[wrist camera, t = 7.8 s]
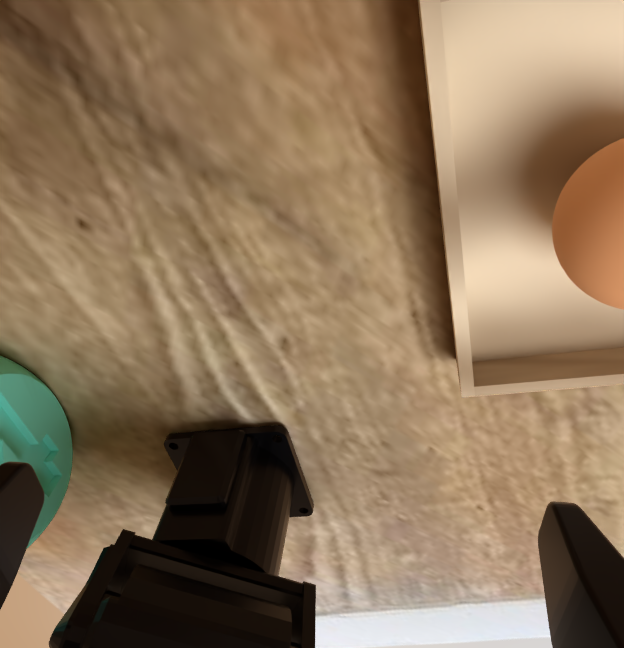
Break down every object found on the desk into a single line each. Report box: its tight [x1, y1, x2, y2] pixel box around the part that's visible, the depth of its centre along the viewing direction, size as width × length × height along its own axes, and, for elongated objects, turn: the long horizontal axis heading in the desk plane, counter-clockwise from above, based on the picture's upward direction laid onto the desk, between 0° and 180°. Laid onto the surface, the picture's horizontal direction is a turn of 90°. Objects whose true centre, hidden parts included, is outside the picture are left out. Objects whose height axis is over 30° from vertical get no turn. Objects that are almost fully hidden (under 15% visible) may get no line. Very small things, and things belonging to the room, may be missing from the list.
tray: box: [418, 0, 624, 398], centre depth 17 cm, size 14×11×2 cm
